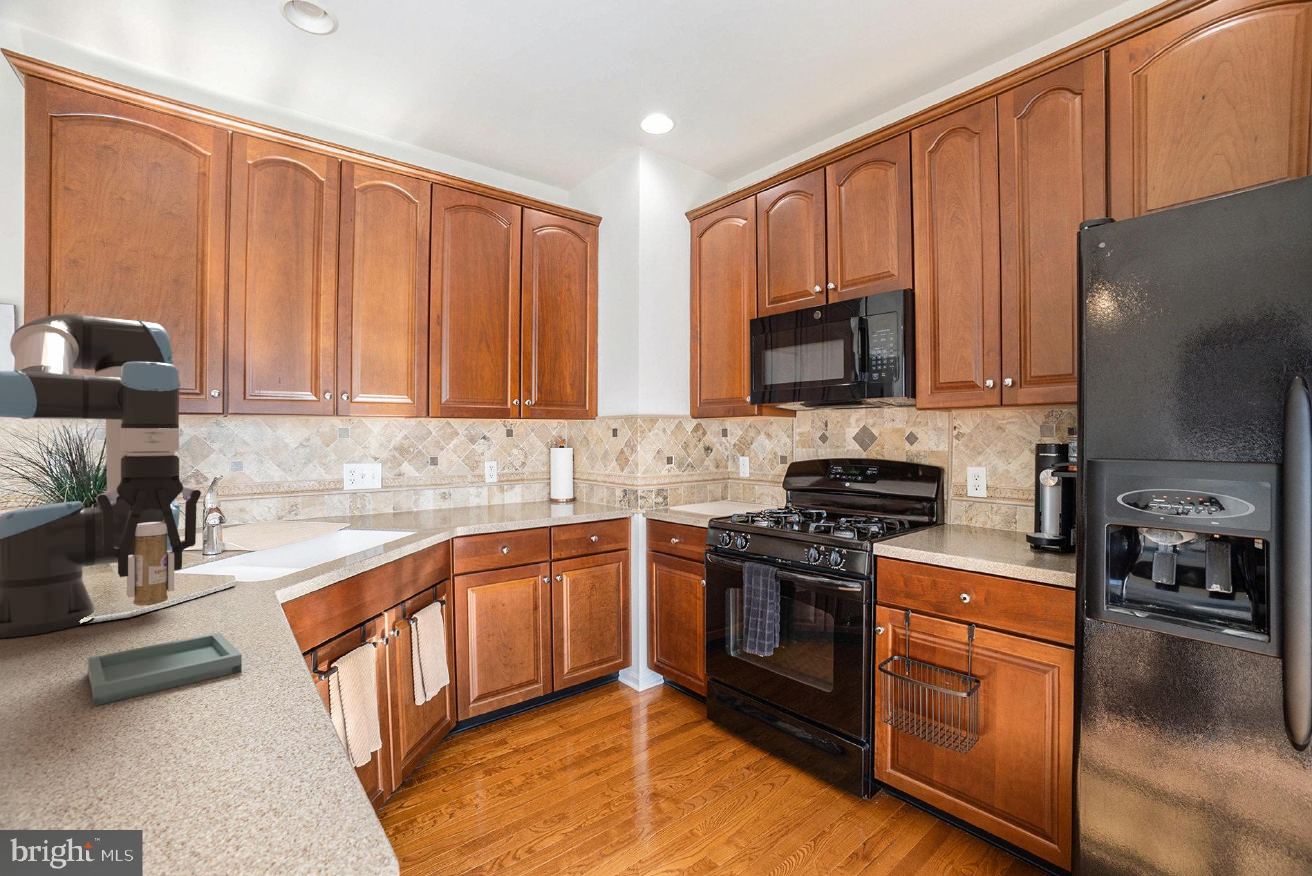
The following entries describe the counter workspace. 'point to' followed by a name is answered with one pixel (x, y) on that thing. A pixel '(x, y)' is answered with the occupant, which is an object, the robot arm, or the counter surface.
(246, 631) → the counter surface
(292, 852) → the counter surface
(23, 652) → the counter surface
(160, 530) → the sprinkles bottle
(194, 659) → the tray
